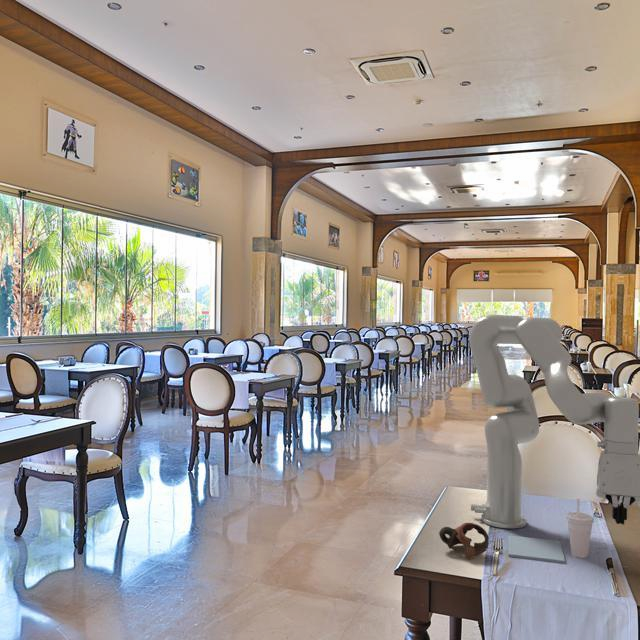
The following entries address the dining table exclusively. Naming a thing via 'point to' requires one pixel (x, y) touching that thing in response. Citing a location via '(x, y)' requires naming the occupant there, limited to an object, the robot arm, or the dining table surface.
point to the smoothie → (579, 532)
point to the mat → (535, 549)
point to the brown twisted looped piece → (465, 538)
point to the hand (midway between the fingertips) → (619, 522)
